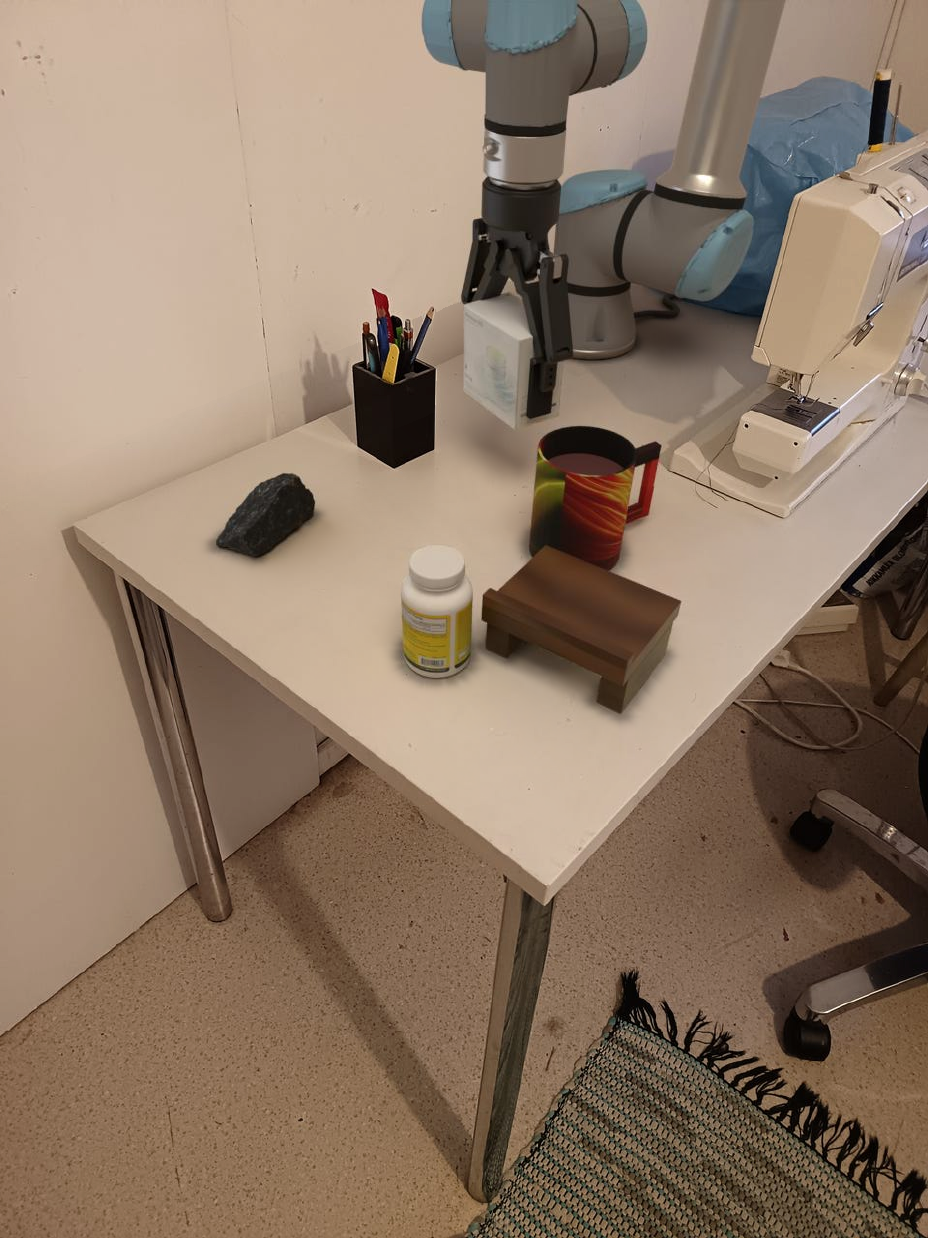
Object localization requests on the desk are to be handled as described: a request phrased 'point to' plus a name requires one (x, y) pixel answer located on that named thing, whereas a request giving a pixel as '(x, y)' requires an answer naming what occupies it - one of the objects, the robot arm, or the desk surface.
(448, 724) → the desk surface
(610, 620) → the shelf
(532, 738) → the desk surface
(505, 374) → the cosmetics box
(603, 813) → the desk surface
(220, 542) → the rock
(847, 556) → the desk surface
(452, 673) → the pill bottle
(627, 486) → the mug
